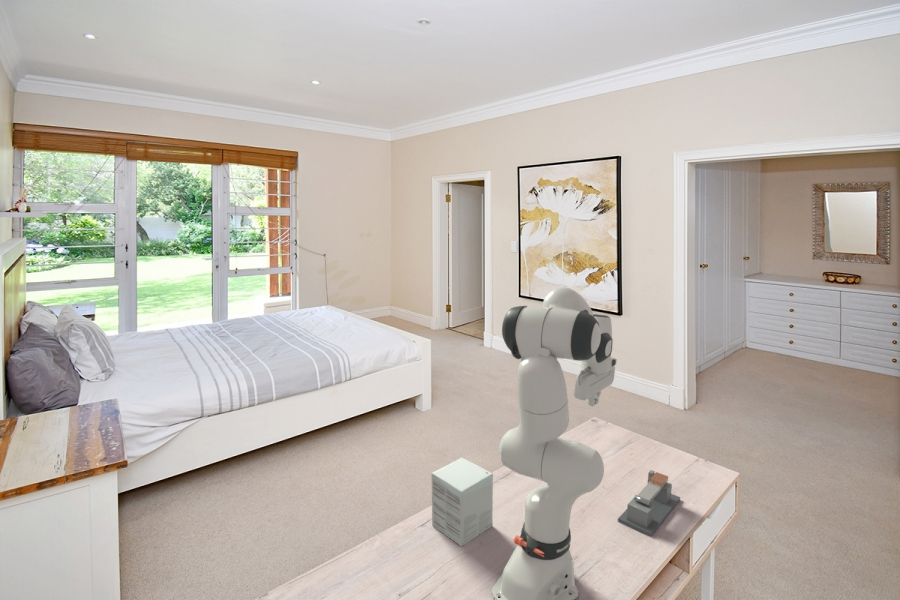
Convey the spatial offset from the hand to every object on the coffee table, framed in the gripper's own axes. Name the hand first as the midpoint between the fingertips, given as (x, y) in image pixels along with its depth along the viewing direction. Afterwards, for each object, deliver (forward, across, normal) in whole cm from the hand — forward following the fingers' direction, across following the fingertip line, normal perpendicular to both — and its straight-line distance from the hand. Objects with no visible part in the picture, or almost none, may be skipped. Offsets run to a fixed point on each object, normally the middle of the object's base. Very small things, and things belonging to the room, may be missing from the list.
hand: (593, 404), depth 152 cm
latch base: (+31, +4, -19) cm, 37 cm away
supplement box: (+31, -42, +19) cm, 56 cm away
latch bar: (+25, +4, -19) cm, 31 cm away
